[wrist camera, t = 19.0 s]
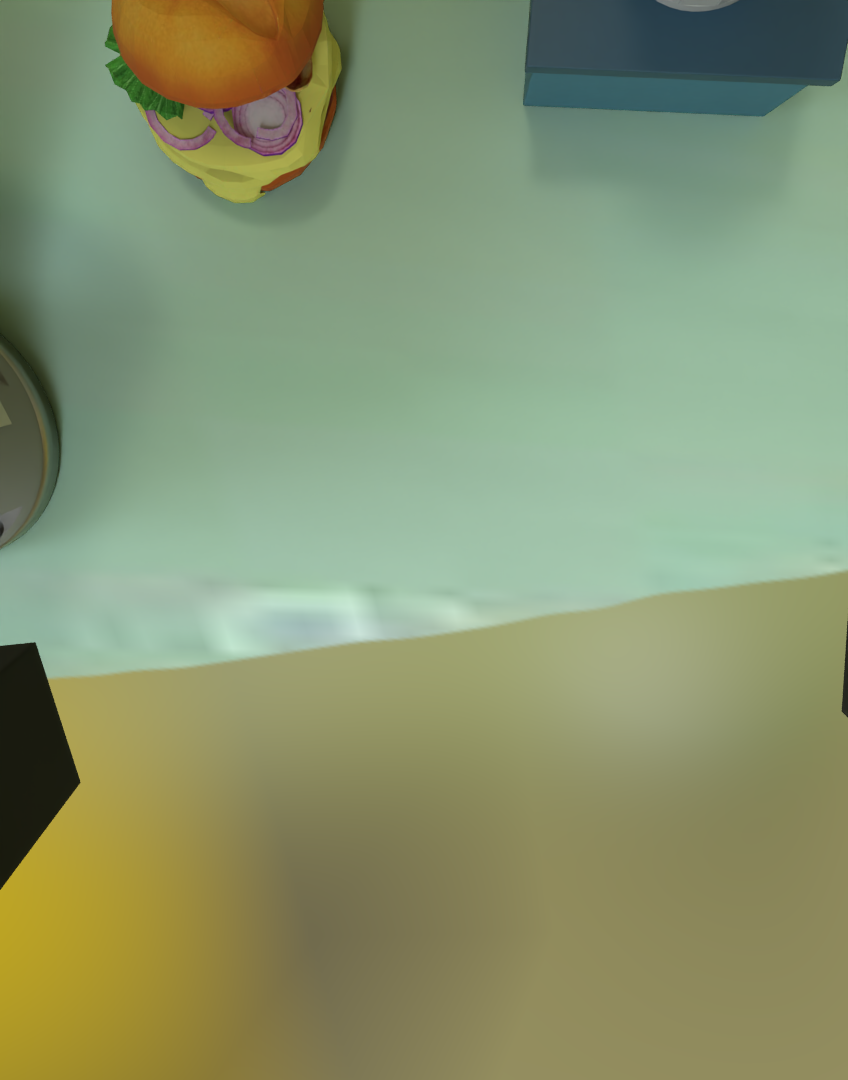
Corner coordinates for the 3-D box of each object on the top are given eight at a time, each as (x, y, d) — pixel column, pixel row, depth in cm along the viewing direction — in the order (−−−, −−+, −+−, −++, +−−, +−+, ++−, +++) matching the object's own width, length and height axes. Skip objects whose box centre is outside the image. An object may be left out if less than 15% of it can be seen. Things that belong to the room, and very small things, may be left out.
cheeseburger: (142, 195, 38) (37, 84, 28) (174, -10, 38) (79, -196, 28) (330, 227, 38) (291, 126, 28) (364, 21, 38) (337, -154, 28)
